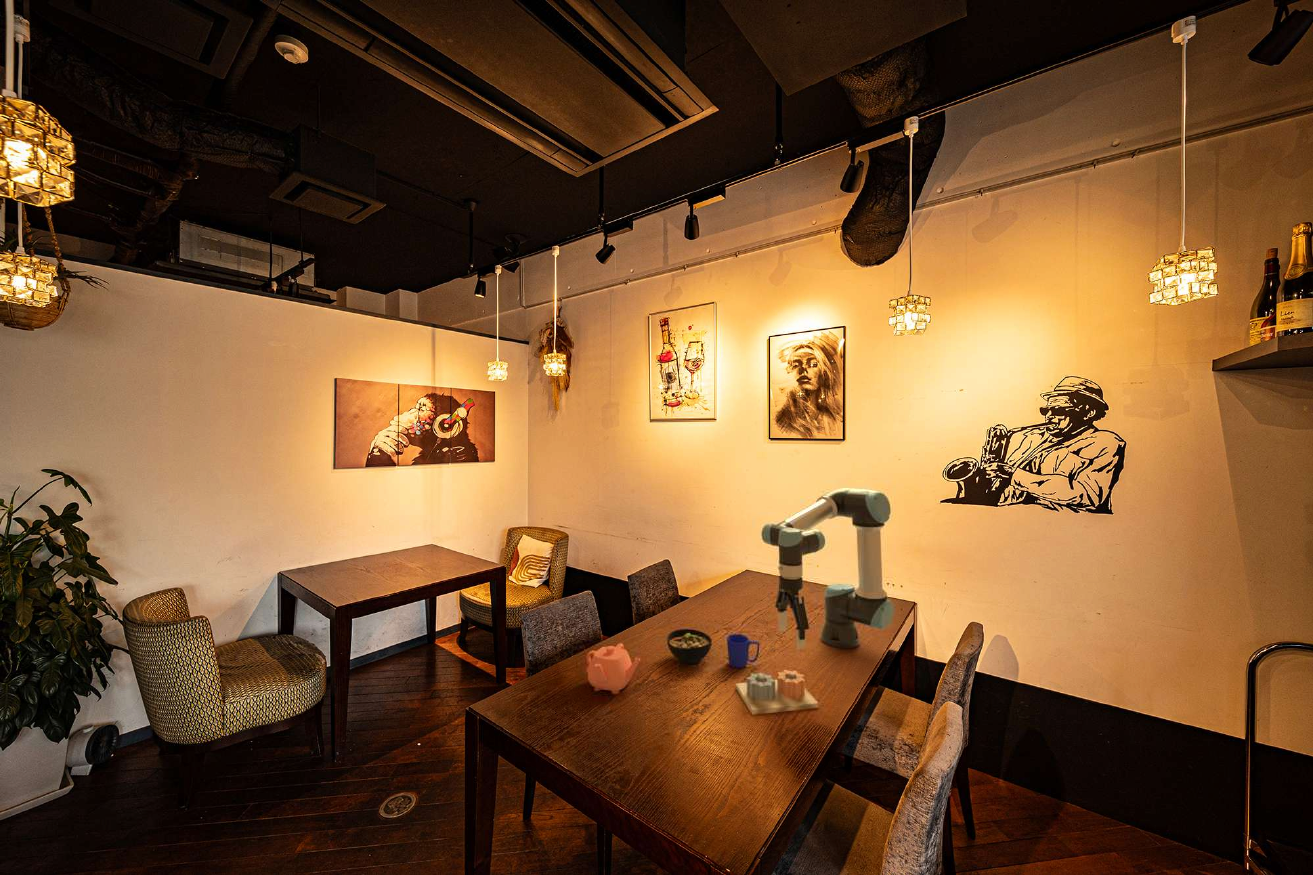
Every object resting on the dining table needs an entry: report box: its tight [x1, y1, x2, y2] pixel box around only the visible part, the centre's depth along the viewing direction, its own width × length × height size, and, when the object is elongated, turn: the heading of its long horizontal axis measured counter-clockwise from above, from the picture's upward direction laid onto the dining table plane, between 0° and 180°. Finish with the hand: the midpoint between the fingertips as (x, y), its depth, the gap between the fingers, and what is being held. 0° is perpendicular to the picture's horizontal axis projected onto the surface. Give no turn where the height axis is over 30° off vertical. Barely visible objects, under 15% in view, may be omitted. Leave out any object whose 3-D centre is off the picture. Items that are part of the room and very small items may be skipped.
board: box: [735, 673, 819, 716], centre depth 161 cm, size 22×16×7 cm
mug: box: [726, 633, 760, 669], centre depth 183 cm, size 8×12×10 cm
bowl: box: [666, 628, 713, 667], centre depth 187 cm, size 17×17×10 cm
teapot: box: [586, 642, 641, 695], centre depth 168 cm, size 16×17×14 cm
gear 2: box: [776, 669, 806, 699], centre depth 162 cm, size 9×9×5 cm
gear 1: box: [746, 672, 776, 702], centre depth 160 cm, size 9×9×5 cm
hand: (791, 639), depth 162 cm, fingers open, 13 cm apart
